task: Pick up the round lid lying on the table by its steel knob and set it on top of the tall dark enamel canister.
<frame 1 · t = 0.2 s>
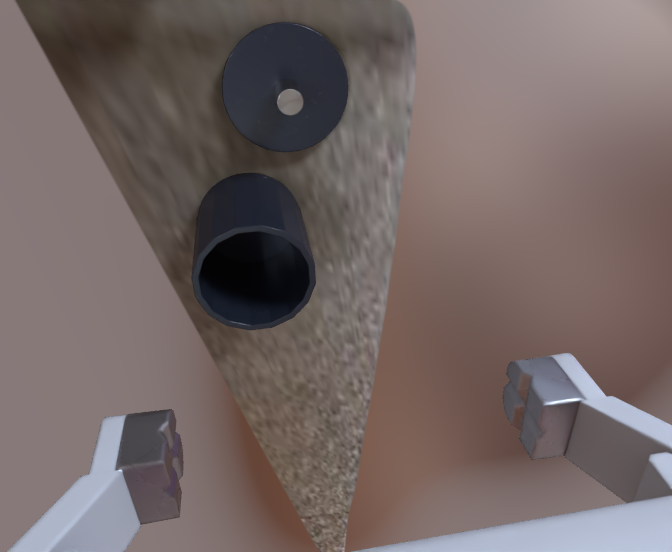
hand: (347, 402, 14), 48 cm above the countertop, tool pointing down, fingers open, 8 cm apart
canister: (249, 220, 63), on the countertop
lid: (285, 89, 56), point 1 cm above the countertop
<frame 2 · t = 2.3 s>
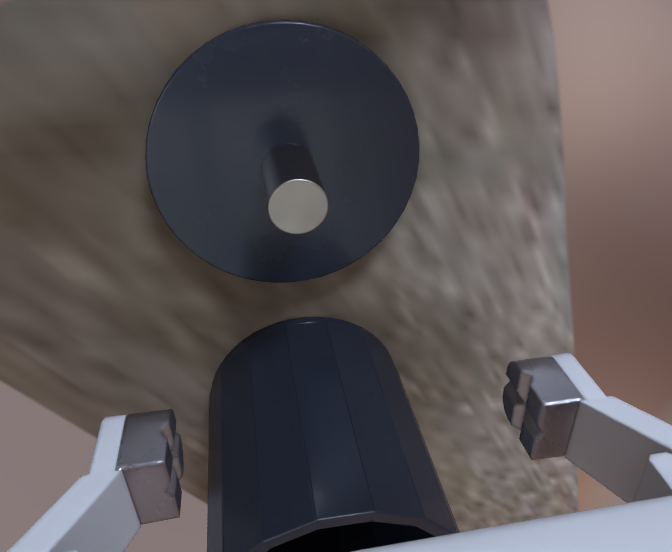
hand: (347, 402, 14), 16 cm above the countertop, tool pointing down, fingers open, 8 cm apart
canister: (305, 391, 35), on the countertop
lid: (286, 164, 26), point 1 cm above the countertop
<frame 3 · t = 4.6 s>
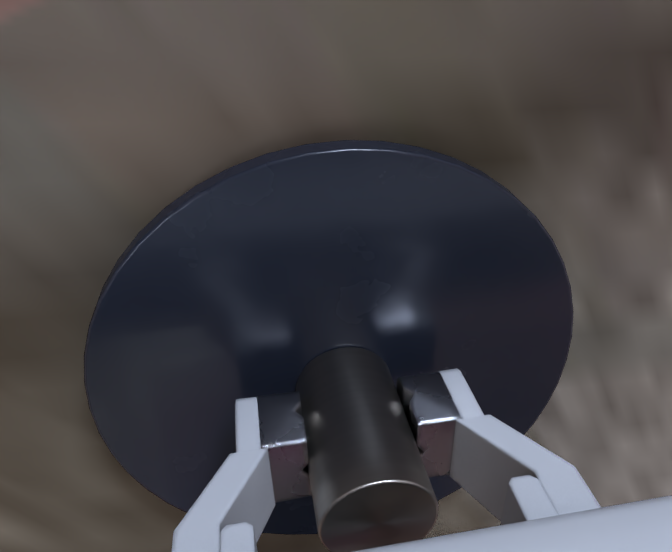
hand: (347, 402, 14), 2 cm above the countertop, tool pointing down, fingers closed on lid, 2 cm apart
lid: (339, 367, 15), point 1 cm above the countertop, touching gripper
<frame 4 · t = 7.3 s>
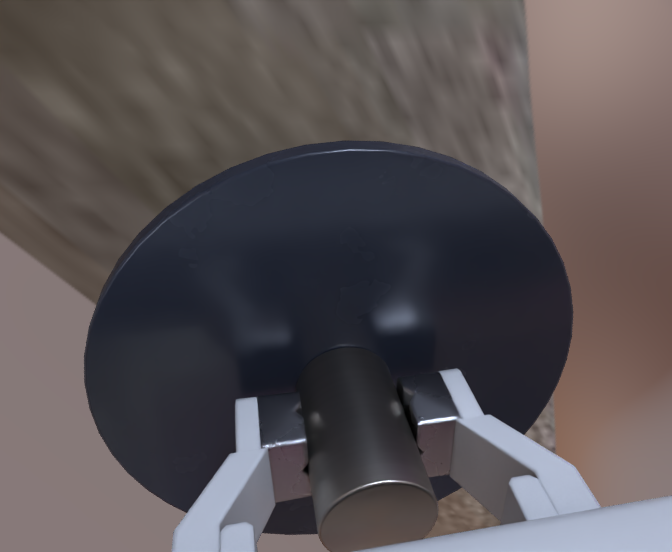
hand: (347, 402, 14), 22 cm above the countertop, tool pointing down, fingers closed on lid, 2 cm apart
lid: (339, 368, 15), point 20 cm above the countertop, touching gripper
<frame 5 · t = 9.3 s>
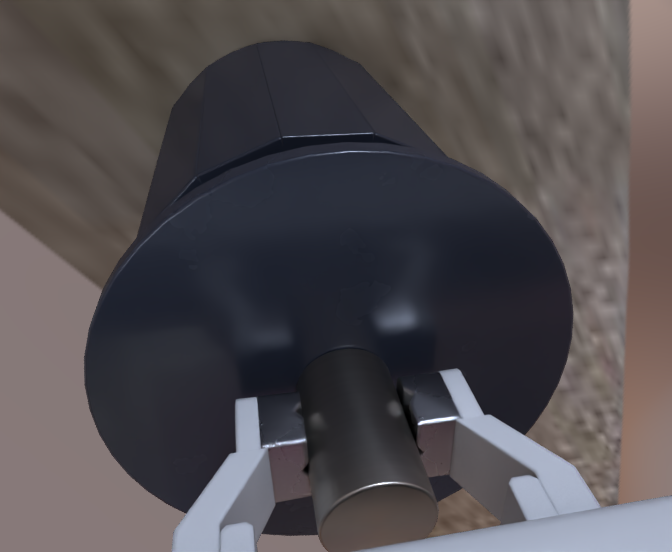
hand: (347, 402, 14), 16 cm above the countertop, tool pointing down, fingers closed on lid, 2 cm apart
canister: (286, 167, 27), on the countertop
lid: (339, 369, 15), point 14 cm above the countertop, touching gripper
when the fingers open (14 cm above the countertop, at t = 10.2 s): lid stays where it is, resting on canister.
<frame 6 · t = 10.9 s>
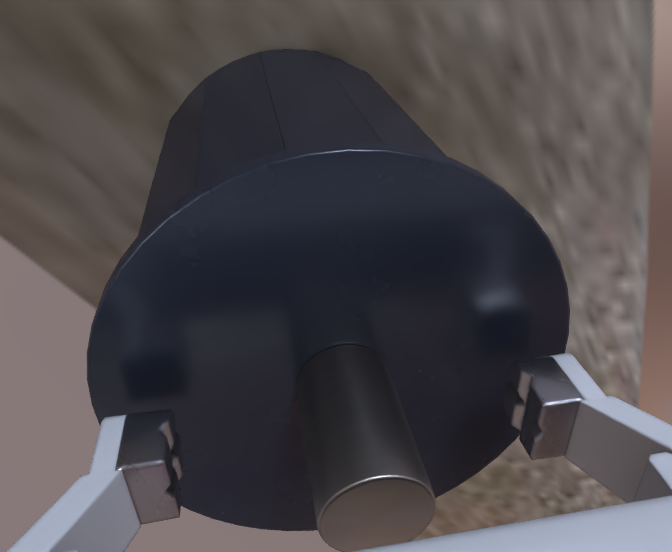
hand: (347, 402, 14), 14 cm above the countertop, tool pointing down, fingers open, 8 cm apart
canister: (290, 181, 26), on the countertop
lid: (338, 365, 15), point 12 cm above the countertop, touching canister
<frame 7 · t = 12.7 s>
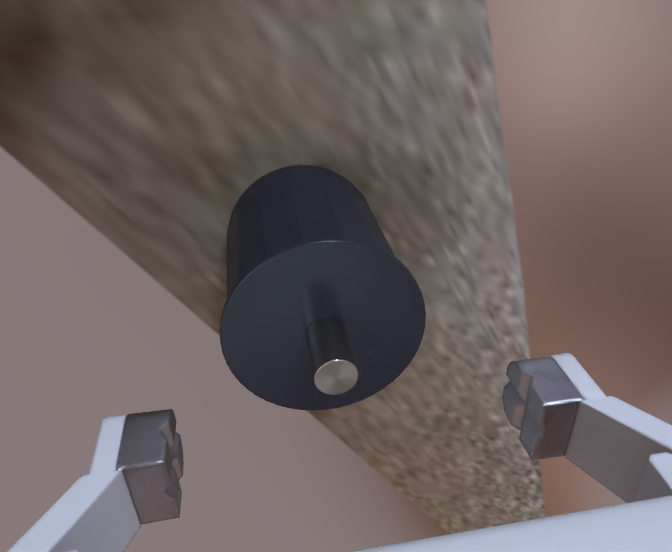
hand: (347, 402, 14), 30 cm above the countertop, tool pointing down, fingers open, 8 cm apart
canister: (301, 233, 45), on the countertop
lid: (324, 327, 34), point 12 cm above the countertop, touching canister
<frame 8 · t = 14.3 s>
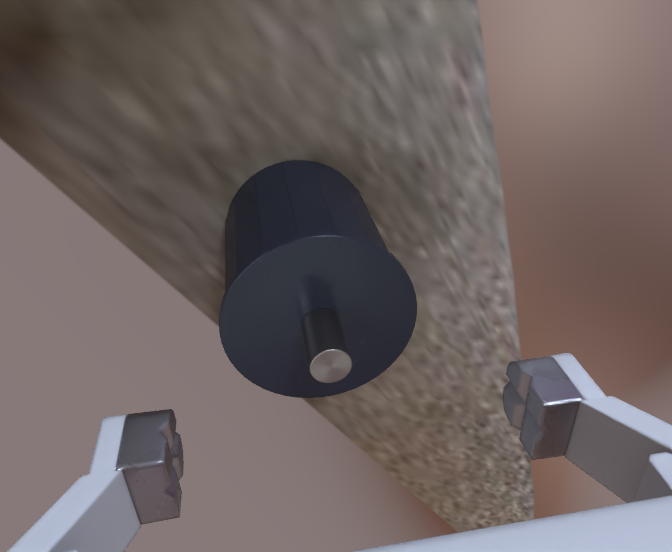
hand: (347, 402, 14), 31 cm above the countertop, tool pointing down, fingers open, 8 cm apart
canister: (297, 226, 46), on the countertop
lid: (319, 318, 36), point 12 cm above the countertop, touching canister
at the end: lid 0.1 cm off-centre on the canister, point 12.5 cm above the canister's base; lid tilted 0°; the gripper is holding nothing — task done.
